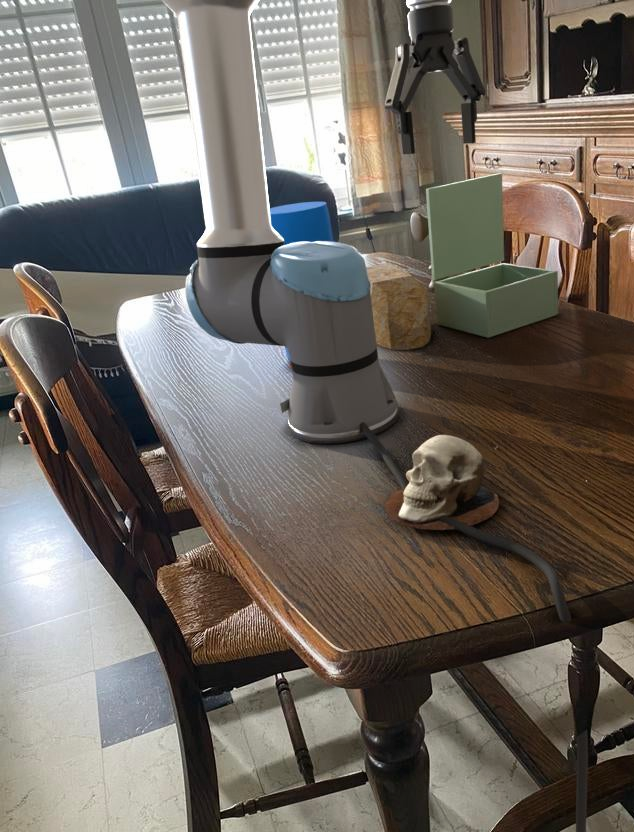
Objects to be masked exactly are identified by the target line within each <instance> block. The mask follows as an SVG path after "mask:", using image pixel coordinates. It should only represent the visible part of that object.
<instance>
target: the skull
mask: <svg viewBox="0 0 634 832" xmlns="http://www.w3.org/2000/svg"><path fill="white" fill-rule="evenodd" d="M411 457H412V463H413V468H412V469H409V470H408V471H407V472H406V473H405V479H406V480H407V482H408V486H407V487H406V488H405V490H404V492H403V490H402V489H401V487H400V488H399V489H397V490H395V491H393V492H392V493H391V494H390V495H389V496H388V497H387V499H386V501H385V503H384V509H385V512H386V513H387V515H388V516H389V517H390V518H391V519H392V520H393V521H395V522H397V523H399V524H400V525H402V526H405V527H407V528H411V529H412V528H413V529H419V530H430V531H445V530H447V531H449V530H453V531H456V530H455V529H457V528H456V527H454V526H451V525H448V524H446V523H444V522H441V521H439V518H440V517H441V516H443V515H445V516H448V517H450V518H452V519H455V520H457V521H460V522H462V523H465V524H467V525H469V526H471V527H473V526H475V525H477V524H480V523H482V522H483V523H484V521H486V520H488V519H490V518H491V517H493V515H494V514H495V513H496V512H497V511H498V509H499V506H500V499H499V496H498V495H497V493H496V492H494V491H493V490H491V489H490V488H489V487H488V488H487V486H485V485H483V480H484V475H485V465H484V460H483V459H484V458H483V454H481V452H479V450H478V449H477V448H476V447H475V446H474V445H472V444H471V443H469V442H468V441H466V440H464V439H462V438H459V437H456V436H453V435H448V434H438V435H435V436H432V437H430V438H429V439H427V440H426V441H424V442H423V443H422V444H421V445H419V447H417V448H416V450H414V452H413V453H412V456H411Z"/></svg>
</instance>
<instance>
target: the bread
mask: <svg viewBox="0 0 634 832" xmlns="http://www.w3.org/2000/svg"><path fill="white" fill-rule="evenodd" d="M366 270H367V275H368V278H369V281H370V285H371V289H370V294H371V302H372V311H373V319H374V328H375V336H376V344H377V346H381V347H384V348H386V349H389V350H396V351H397V350H400V351H401V350H402V351H409V350H413V349H418V348H423V347H424V346H426V345H427V344H428V343H429V342H430V340H431V335H432V323H431V311H430V303H429V302H430V301H429V300H430V299H429V292H428V289H426V288H425V286H423V284H422V283H421V282H420V280H418V279H417V278H416V277H415V276H413V274H410V273H409V272H407V271H406V270H404V269H402V268H400V267H398V266H396V265H395V264H393V263H391V262H387V263H382V264H376V265H371V266H366Z"/></svg>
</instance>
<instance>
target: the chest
mask: <svg viewBox="0 0 634 832" xmlns="http://www.w3.org/2000/svg"><path fill="white" fill-rule="evenodd" d="M558 272H559V271H558V270H553V269H547V268H540V267H533V266H526V265H521V264H520V265H519V264H514V263H505V262H500V263H498V264H494V265H490V266H488V267H487V266H486V267H482V268H480V269H477V270H473V271H470V272H469V271H468V272H466V273H461V274H459V275H458V274H457V275H454V276H450V277H448V279H444V280H441V281H437V282H434V289H435V290H434V299H435V311H436V320H437V321H436V322H437V325H439V326H443V327H447V328H449V329H453V330H457V331H461V332H464V333H467V334H468V333H469V334H473V335H477V336H480V337H482V338H483V337H484V338H487V339H489V338H492V337H494V336H497V335H501V334H504V333H506V332H507V333H508V332H510V331H512V330H513V331H514V330H515V329H519V328H521V327H526V326H529V325H531V324H534V323H537V322H539V321H543V320H546V319H549V318H552V317H555V316H557V315H559V284H558V283H559V281H558V280H559V273H558Z"/></svg>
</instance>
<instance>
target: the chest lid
mask: <svg viewBox="0 0 634 832" xmlns="http://www.w3.org/2000/svg"><path fill="white" fill-rule="evenodd" d="M425 195H426V197H425V198H426V212H427V217H428V225H429V234H428V238H429V251H430V266H431V267H432V273H431V280H432V279H433V280H437V279H440V278H444V277H447V276H448V277H452V276H456V275H458V274H463V273H465V272H469V271H472V270H473V271H474V270H475V269H479V268H480V269H481V268H484V267H487V266H491V265H493V264H494V265H495V264H497V263H498V264H499V263H502V262H504V261H505V240H504V239H505V237H504V200H503V199H504V198H503V195H504V193H503V172H502V173H494V174H489V175H485V176H480V177H476V178H475V177H474V178H471V179H466V180H461V181H457V182H452V183H447V184H443V185H442V184H441V185H437V186H432V187H428V188H425Z"/></svg>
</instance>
